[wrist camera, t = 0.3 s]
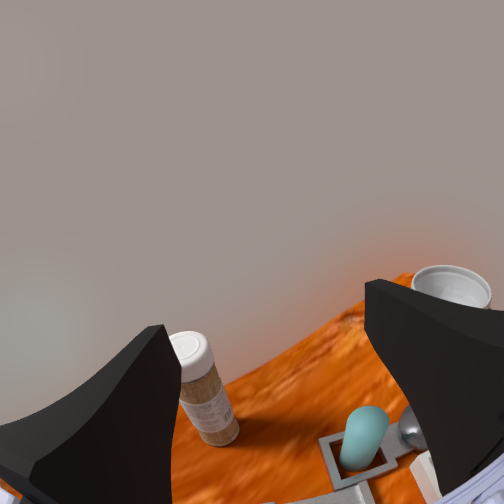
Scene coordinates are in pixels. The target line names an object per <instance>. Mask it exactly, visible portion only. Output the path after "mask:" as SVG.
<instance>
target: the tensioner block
mask: <svg viewBox="0 0 504 504" xmlns="http://www.w3.org/2000/svg"><path fill="white" fill-rule="evenodd" d="M344 435H345V431H343V432H340V433H337V434H333V435H330V436H327V437H323V438H319V439H318V444H319V448H320V451H321V454H322V457H323V460H324V463H325V467H326V470H327V473H328V476H329V479H330V483H331V486H332V489H333V492H336V491H340V490H343V489H346V488H349V487H352V486H355V485H357V483H359V482H362V481H364V480H366V481H369V480H372V479H374V478H377V477H379V476H382V475H384V474H387V473H389V472H391V471H393V470H395V469H396V468H397V467H398V464H397V462H396V459H398V458H400V457H403V456H405V455H407V454H409V453H411V452H414V453H424V452H426V451H428V450H429V449H428V446H427V443H426V440H425V438H424V435H423V433H422V430H421V428H420V426H419V423H418V421H417V418H416V416H415V414H414V412H413V410H412V408H411V406H410V404H409V405H408V406H407V407H406V408H405V410H404V411H403V413H402V415H401V418H400V420H399V421H398V422H396V423H394V424H391V425H389V427H388V429H387V431H386V434H385V436H384V438H383V440H382V442H381V444H380V446H379V449H378V452H379V455H380V457H381V459H382V461H383V463H384V465H381V466H379V467H376V468H374V469H371V470H369V471H366V472H363V473H361V474H358V475H355V476H352V477H349V478H346V479H343V480H341V478H340V475H339V472H338V469H337V466H336V463H335V460H334V457H333V454H332V452H331V449H330V447H331V446H335V445H338V444H341V443H343V439H344Z"/></svg>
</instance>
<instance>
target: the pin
mask: <svg viewBox="0 0 504 504" xmlns="http://www.w3.org/2000/svg"><path fill="white" fill-rule="evenodd" d="M388 427H389V417H388V415H387V414H386V412H385V411H384V410H382V409H381V408H379V407H375V406H364V407H360V408H358V409H356V410H355V411H353V412H352V413H351V415H350V416H349V418H348V420H347V425H346V430H345V435H344V439H343V444H342V448H341V452H340V457H339V463H340V465H341V467H342V468H343V469H345V470H346V471H349V472H360V471H363V470H365V469H366V468H367V467H368V466H369V465H370V464H371V462H372V460H373V459H374V457H375V455H376V453H377V451H378V449H379V446H380V444H381V442H382V440H383V438H384V436H385V434H386V431H387V429H388Z"/></svg>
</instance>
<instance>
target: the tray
mask: <svg viewBox="0 0 504 504" xmlns="http://www.w3.org/2000/svg"><path fill="white" fill-rule="evenodd" d="M409 468H410V470H411V472H412V474H413V476H414V478H415V480H416V482H417V484H418V486H419V488H420V491H421V493H422V495H423V497H424V499H425V501H426V503H427V504H432V503H433V502H435V501H437V500H439V499H440V498H442V495H441V493H440V491H439V487H438V481H437V477H436V473H435V469H434V465H433V462H432V458H431V455H430V452H429V450H428V451H426V452H424V453H422V454H420V455H419V456H417V457H416V459H415V460H414V461H413V462H412V464H411V465H410V466H409ZM473 500H474V499H473ZM473 500H472V501H473ZM472 501H471V502H472ZM471 502H469V503H468V504H471Z"/></svg>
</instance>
